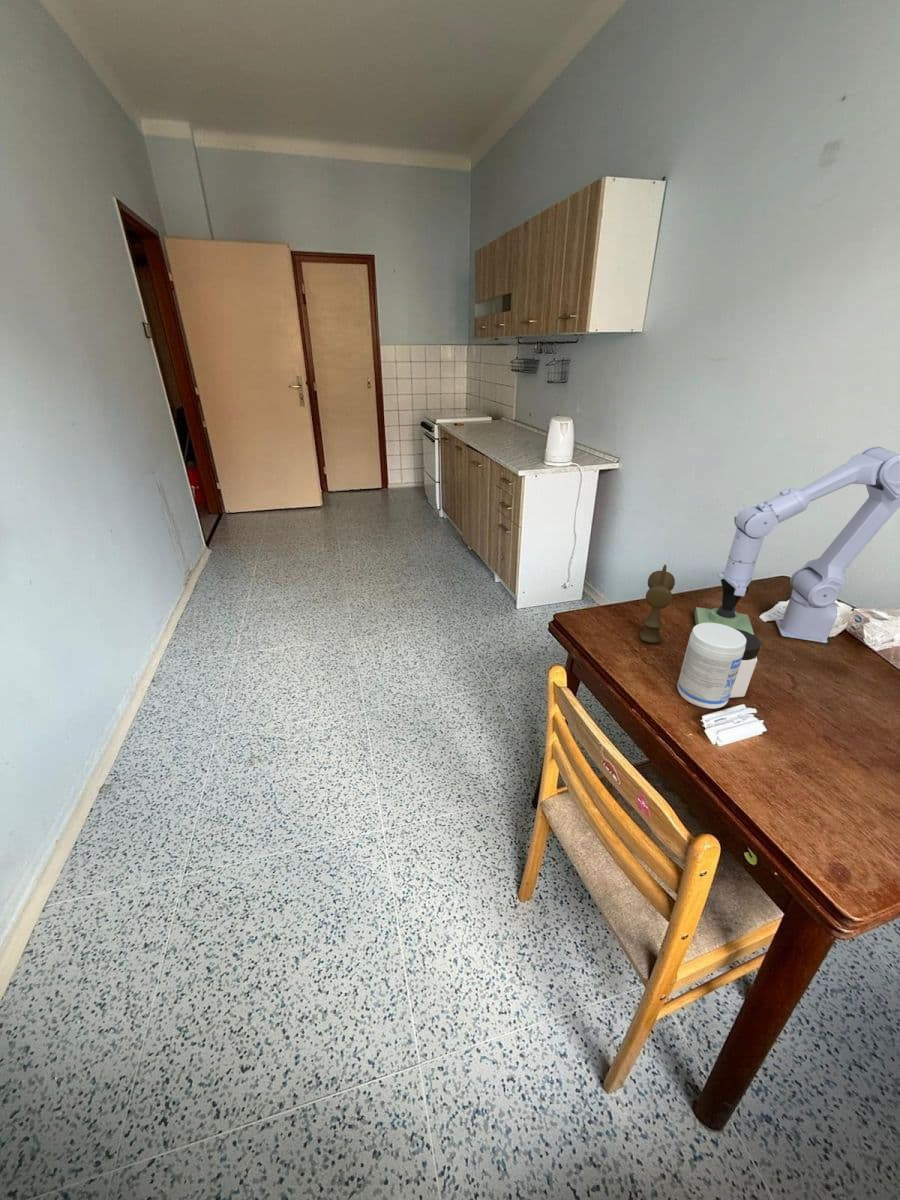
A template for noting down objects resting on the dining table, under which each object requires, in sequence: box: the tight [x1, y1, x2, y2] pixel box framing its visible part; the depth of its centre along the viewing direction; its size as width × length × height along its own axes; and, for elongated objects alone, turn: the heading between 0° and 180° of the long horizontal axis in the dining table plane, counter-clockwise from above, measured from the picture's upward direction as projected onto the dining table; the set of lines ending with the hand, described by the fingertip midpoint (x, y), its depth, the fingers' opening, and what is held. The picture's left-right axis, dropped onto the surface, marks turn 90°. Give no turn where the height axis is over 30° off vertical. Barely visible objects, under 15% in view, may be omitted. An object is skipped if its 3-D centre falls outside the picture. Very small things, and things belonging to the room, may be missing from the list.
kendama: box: [638, 564, 676, 644], centre depth 111 cm, size 6×10×20 cm, turn 155°
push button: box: [717, 605, 736, 618], centre depth 117 cm, size 4×4×2 cm
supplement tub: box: [676, 623, 746, 710], centre depth 93 cm, size 10×10×15 cm
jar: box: [729, 628, 762, 699], centre depth 96 cm, size 9×8×12 cm
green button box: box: [694, 606, 755, 636], centre depth 119 cm, size 12×10×4 cm
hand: (727, 609), depth 117 cm, fingers closed
